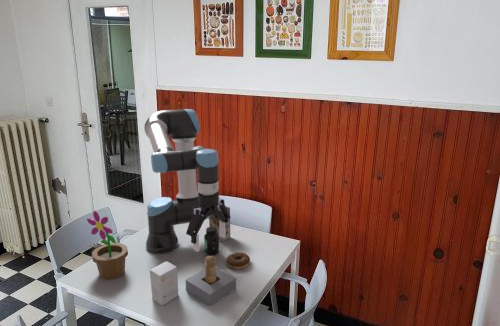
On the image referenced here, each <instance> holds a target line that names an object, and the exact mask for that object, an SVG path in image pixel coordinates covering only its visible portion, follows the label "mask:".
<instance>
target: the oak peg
mask: <svg viewBox="0 0 500 326" xmlns="http://www.w3.org/2000/svg"><path fill="white" fill-rule="evenodd" d="M216 258H217V257H216V256H214V255H207V256H206V257H205V260H204V262H205V263H204V264H205V265H204V266H205V268H204V269H206V278H205V281H206V283H208V284H210V285H211V284H213V283H215V282H216V268H217V264H216V263H217V261H216Z"/></svg>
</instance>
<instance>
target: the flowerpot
mask: <svg viewBox="0 0 500 326" xmlns="http://www.w3.org/2000/svg"><path fill="white" fill-rule="evenodd" d="M92 216H93V218H87V219H86V221H87V223H88V224H89V225H91V226H94V227H93V228H92V229H91V232H90V233H91V235H94V236H95V235H96V234H97V233H98V232H99V233H98V234H99V236H100V239H102V240H100V243H101V244H102V245H100V246H98V247H96V248H95V249H94V250H92V252H91V257H92V259H91V260H92V262H94V263H95V265H96V267H97V270H98V274H99V277H100V278H102V279H103V280H115V279H118V278H120V277H121V276H123V274H125V273H126V258H127V256H128V255H129V250H128V246H127V245H126V244H123V243H121V242H117V241H116V239H115V237H114V236H113V235H111V234H113V230H112V229H111V227H109V226H108V225H106V224H107V223H108V222H109V217H107V216H104V217H102V218H100V215H99V213H98V212H97V210H94V211H93V215H92ZM109 234H110V235H109Z"/></svg>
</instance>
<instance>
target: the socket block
mask: <svg viewBox="0 0 500 326" xmlns="http://www.w3.org/2000/svg"><path fill="white" fill-rule="evenodd" d="M205 278H206V269H205V268H204V269H202V270H201V271H199V272H196V273H195V274H193V275H192V276H189V277H187V278H186V279H185V291H186V292H188V293H189V294H191V295H192V296H194V297H196V298H197V299H198V300H199V301H202V302H203V303H205V304H206V305H208V306H210V307H211V306H213V305H214V304H215V303H218V302H219V301H221V300H222V299H223V298H225V297H227V296H228V295H229V294H231V293H233V292H234V291H236V290H237V277H235V276H233V275H231V274H229V273H227V272H225V271H224V270H222V269H220V268H218V267H216V282H215V283H213V284H211V285H210V284H208V283H206V281H205Z"/></svg>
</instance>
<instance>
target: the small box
mask: <svg viewBox="0 0 500 326" xmlns="http://www.w3.org/2000/svg"><path fill="white" fill-rule="evenodd" d="M149 276H150V277H149V278H150V286H151V287H150V288H151V296H152V297H151V298H152V300H153V301H155V302H156V303H158V304H159V305H161V306H163V305H166V304H167V303H169V302H170V301H172V300H173V299H175V298H177V297H179V282H178V267H177V266H176V265H174V264H172V263H170V262H169V261H164V262H162V263H161V264H158V265H156V266H154V267H153V268H151V269H149ZM163 307H164V306H163Z"/></svg>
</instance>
